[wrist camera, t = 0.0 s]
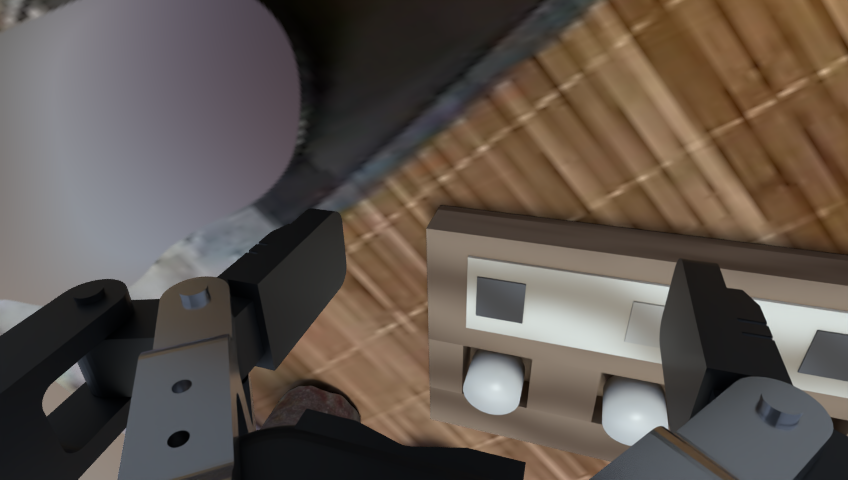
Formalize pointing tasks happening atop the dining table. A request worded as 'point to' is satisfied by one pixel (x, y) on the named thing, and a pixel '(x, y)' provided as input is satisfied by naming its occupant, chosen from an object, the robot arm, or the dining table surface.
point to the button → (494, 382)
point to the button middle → (632, 408)
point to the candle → (309, 406)
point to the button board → (605, 316)
